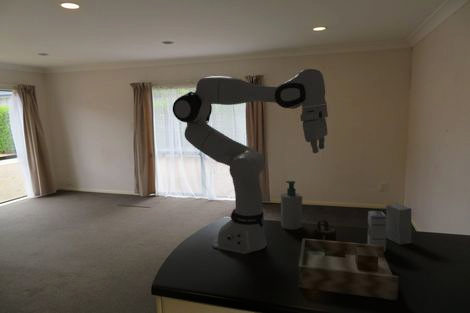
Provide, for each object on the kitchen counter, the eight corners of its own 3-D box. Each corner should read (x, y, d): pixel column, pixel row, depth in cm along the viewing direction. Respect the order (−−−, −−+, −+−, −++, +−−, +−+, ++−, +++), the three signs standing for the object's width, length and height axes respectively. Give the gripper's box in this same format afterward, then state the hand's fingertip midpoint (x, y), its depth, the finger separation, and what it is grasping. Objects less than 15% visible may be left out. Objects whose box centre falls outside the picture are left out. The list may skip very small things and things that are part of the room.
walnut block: (357, 269, 97) (357, 254, 96) (355, 260, 103) (355, 246, 102) (377, 271, 95) (378, 256, 95) (374, 262, 101) (375, 248, 100)
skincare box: (411, 243, 125) (413, 208, 123) (398, 245, 123) (400, 210, 121) (396, 235, 133) (398, 203, 131) (384, 237, 131) (386, 204, 129)
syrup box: (385, 251, 118) (387, 215, 116) (369, 250, 119) (371, 215, 117) (381, 245, 123) (383, 211, 121) (366, 244, 124) (367, 210, 123)
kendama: (333, 231, 141) (337, 248, 121) (312, 230, 143) (312, 247, 124) (333, 218, 140) (337, 234, 121) (312, 218, 143) (312, 233, 123)
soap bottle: (292, 221, 153) (292, 178, 150) (305, 226, 146) (306, 181, 143) (276, 225, 148) (276, 181, 145) (289, 231, 140) (290, 184, 137)
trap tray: (298, 287, 95) (298, 266, 94) (302, 255, 116) (302, 238, 115) (397, 300, 87) (398, 277, 86) (382, 264, 108) (383, 245, 107)
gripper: (313, 113, 122) (317, 147, 124) (298, 116, 104) (303, 156, 106) (329, 111, 119) (332, 146, 121) (317, 114, 101) (321, 154, 103)
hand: (318, 150), depth 113 cm, fingers open, 8 cm apart
